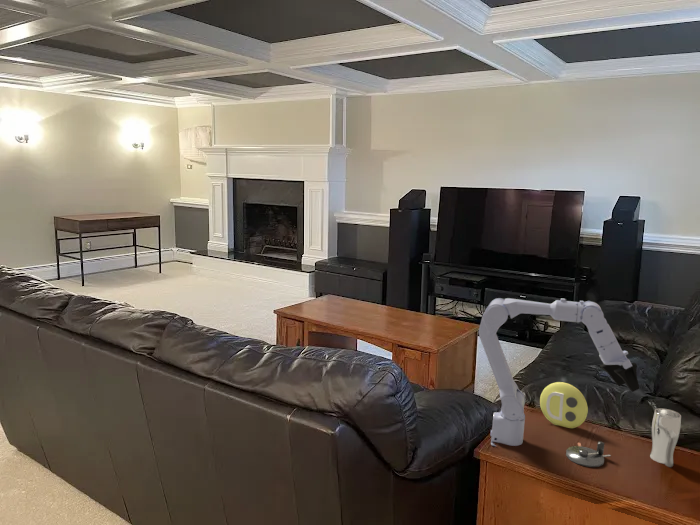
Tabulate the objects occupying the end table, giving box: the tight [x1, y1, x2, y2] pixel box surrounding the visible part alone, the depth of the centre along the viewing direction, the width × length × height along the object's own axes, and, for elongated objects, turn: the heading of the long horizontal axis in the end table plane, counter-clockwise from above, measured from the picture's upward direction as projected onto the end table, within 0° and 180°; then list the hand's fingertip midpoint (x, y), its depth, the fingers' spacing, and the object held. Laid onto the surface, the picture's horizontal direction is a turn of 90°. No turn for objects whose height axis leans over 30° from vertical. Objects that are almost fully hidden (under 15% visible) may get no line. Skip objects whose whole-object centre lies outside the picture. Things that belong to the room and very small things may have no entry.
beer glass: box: [649, 408, 682, 468], centre depth 156 cm, size 7×7×15 cm
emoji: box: [539, 381, 589, 429], centre depth 176 cm, size 5×15×15 cm
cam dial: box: [565, 440, 605, 468], centre depth 156 cm, size 11×10×4 cm
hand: (628, 387), depth 151 cm, fingers open, 7 cm apart
